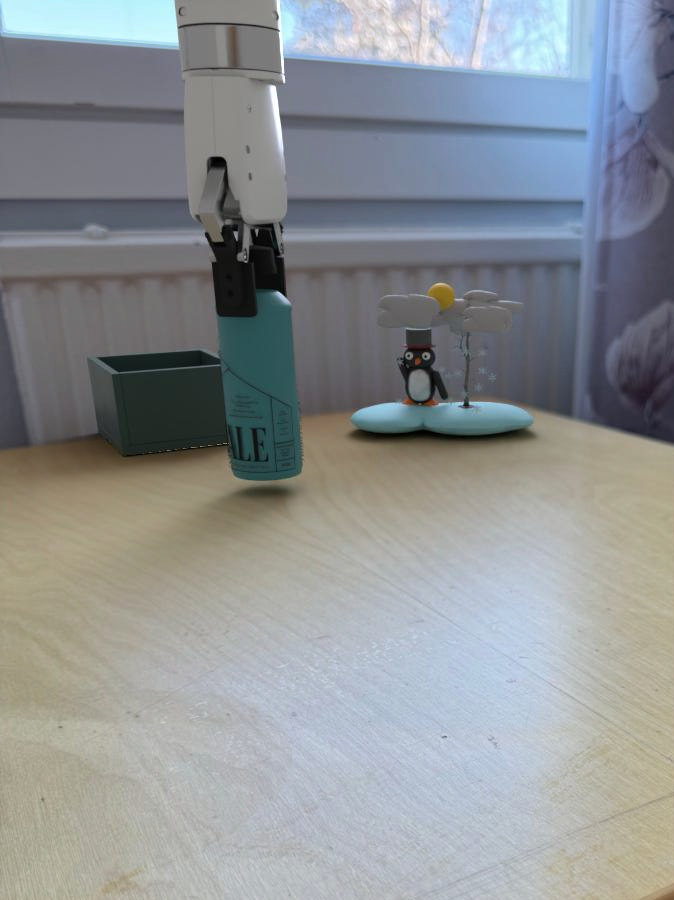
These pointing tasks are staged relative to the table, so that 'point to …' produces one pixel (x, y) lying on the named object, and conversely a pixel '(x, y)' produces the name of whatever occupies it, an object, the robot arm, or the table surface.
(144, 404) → the holder bin
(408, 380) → the penguin figurine
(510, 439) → the table surface
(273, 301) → the beverage bottle
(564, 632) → the table surface
